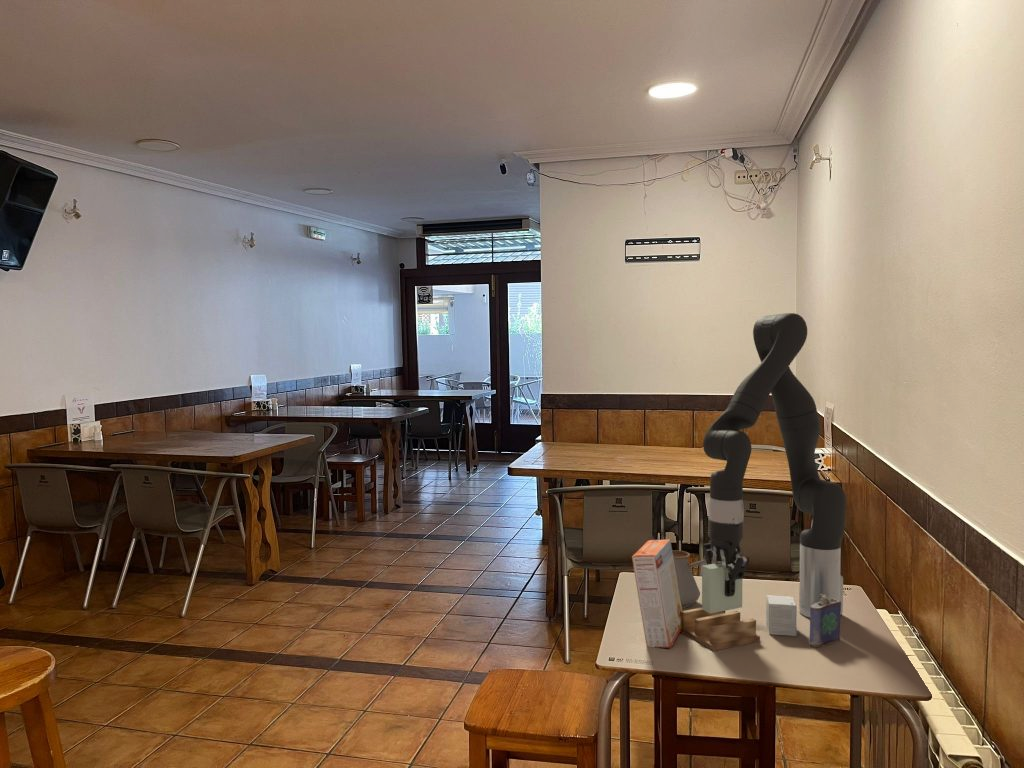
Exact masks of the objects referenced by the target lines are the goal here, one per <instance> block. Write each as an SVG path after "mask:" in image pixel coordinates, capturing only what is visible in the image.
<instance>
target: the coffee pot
mask: <svg viewBox="0 0 1024 768" xmlns="http://www.w3.org/2000/svg"><path fill="white" fill-rule="evenodd" d="M672 552H673V559H674V565H675V571H676V577H677V584H678V590H679V596H680V602H681V608H682V609H684V608H689V607H691V606H693V605H694V604H695V603H696V602H697V601H699V598H700V596H701V592H700V589H699V587H698V584H697V582H696V581H697V580H696V579H695V577H694V575H693V573H692V570H691V568H694V567H697V566H700V565H704V564H705V563H706V564H707V562H706V558H705V559H702V560H699V561H695V562H692V563H688V562H689V558H690V557H691V553H689V552H687V551H685V550H676V549H675V550H673V549H672ZM711 562H712V559H711Z"/></svg>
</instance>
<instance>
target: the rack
mask: <svg viewBox="0 0 1024 768" xmlns="http://www.w3.org/2000/svg"><path fill="white" fill-rule="evenodd" d="M681 620H682V628H681V629H682V630H681V631H680V633H682V632H683V633H682V634H684V635H686V636H687V637H689V638H691V639H692V638H693V640H695V641H696V642H697V641H698V642H697V643H699V644H701V645H703V646H704V647H706V648H707V649H709V650H710V651H718V650H723V649H728V648H732V647H733V648H734V647H737V646H741V645H747V644H750V643H755V642H760V641H761V636H760V635H758V634H757V620H756V619H755V618H748V619H743V620H741V612H740V611H739V610H734V611H730V612H729V611H728V612H726V610H725V611H720V612H715V613H708V612H706V611H704V610H702V606H701V607H697V608H691V609H687V610H682V611H681Z"/></svg>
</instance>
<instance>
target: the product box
mask: <svg viewBox="0 0 1024 768" xmlns="http://www.w3.org/2000/svg"><path fill="white" fill-rule="evenodd" d="M765 606H766V607H765V608H766V609H765V610H766V611H765V612H766V614H765V615H766V617H765V623H766V628H767V630H768V631H767V633H768V635H774V636H775V635H777V636H789V637H790V636H791V637H796V636H797V634H798V633H797V611H798V610H797V604H796V602H795V599H794V597H793V596H786V595H785V596H783V595H771V594H766V603H765Z"/></svg>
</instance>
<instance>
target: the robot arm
mask: <svg viewBox="0 0 1024 768" xmlns="http://www.w3.org/2000/svg"><path fill="white" fill-rule="evenodd" d="M752 336H753V341H754V342H753V343H754V345H755V346H754V347H755V349H756V353H757V354H758V358H759V360H760V364H759V365H758V366H756V367H755V368H754V369H753V370H752V371H750V373H749V374H748V375H747V376H746V377H745V378H743V380H742V381H741V382H740V383H739V385H738V386H737V388H736V389H735V392H734V393H733V395H732V397H731V399H730V401H729V403H728V406H726V407H727V408H726V409H725V410H724V411H723V413H721V414H720V415H719V416H718V418H717V419H716V420H715V421H714V422H713V423H712V424H711V425H710V426H709V428H708V430H707V431H706V432H705V435H704V437H703V439H702V440H703V442H702V449H703V452H704V453H705V455H706V456H707V457H708V458H710V459H713V460H720V461H726V464H725V467H724V469H722V470H716V471H713V472H711V475H710V480H709V501H708V503H709V504H708V516H707V517H708V527H707V528H708V529H707V532H708V534H707V536H708V538H709V539H710V542H709V543H703V544H702V550H703V553H704V557H705V559H706V565H709V564H718V563H722V567H723V569H724V570H725V579H726V580H725V596H727V597H730V596H733V595H734V594H735V580H736V579H742V580H743V578H744V576H745V573H746V570H747V568H748V566H749V563H750V557H749V556H744V554H743V553H742V550H741V546H740V544H741V542H742V540H744V539H743V538H744V502H743V501H744V500H743V493H744V491H743V490H744V488H743V487H744V486H743V485H744V484H743V482H744V478H745V474H746V471H747V468H748V464H749V461H750V458H751V454H752V442H751V439H750V437H749V435H748V434H747V433H746V432H744V431H742V430H745V429H749V428H752V427H754V426H755V424H756V423H757V420H758V419H759V416H760V415H761V413H762V411H763V409H764V406H765V404H766V402H767V401H768V398H769V397H770V395H771V398H772V402H773V405H774V410H775V416H776V419H777V423H778V427H779V431H780V435H781V438H782V441H783V446H784V450H785V454H786V455H785V456H786V460H787V464H788V468H789V475H790V476H789V477H790V485H791V491H792V497H793V501H794V503H795V506H796V507H797V509H798V510H799V511H801V512H802V513H804V514H806V515H809V516H812V525H811V527H810V528H808V529H807V528H806V529H804V530H802V531H801V532H800V534H799V593H798V595H799V596H798V597H799V599H798V601H799V603H798V604H799V605H798V611H799V613H800V614H801V615H802V616H805V617H806V618H809V619H810V606H811V605H813V604H815V603H818V602H820V601H821V598H822V596H823V595H822V596H821V595H820V594H824V595H826V596H827V597H828V598H827V599H830V598H833V599H837V600H840V601H841V613H840V616H842V615H843V614H844V611H843V610H844V609H843V608H844V577H843V576H842V575H841V554H842V553H841V548H842V547H841V546H842V544H841V543H842V539H843V537H844V535H845V529H846V517H847V516H846V514H847V497H846V496H847V495H846V493H845V490H844V489H843V486H841V485H839V483H835V482H833V481H828V480H825V479H821V477H820V475H819V474H820V473H819V472H818V469H817V464H816V460H815V459H816V458H815V457H816V456H815V453H816V450H817V449H816V447H817V444H818V441H819V439H820V435H821V423H820V422H821V421H820V418H819V414H818V409H817V405H816V402H815V400H814V397H813V396H812V394H811V393H810V392H809V390H807V388H806V387H805V386H804V385H803V384H802V382H801V381H800V380H799V379H798V377H797V376H795V374H794V372H793V371H792V369H791V368H790V365H791V364H792V362H793V361H794V359H796V357H797V356H798V354H799V353H800V351H801V350H802V349H803V346H804V345H805V343H806V341H807V337H808V325H807V322H806V321H805V319H804V318H803V316H801V315H800V314H799V313H794V312H788V313H787V312H785V313H779V314H778V313H777V314H770V315H769V314H768V315H764V316H761V317H759V318H757V319H756V321H755V323H754V325H753V331H752ZM711 559H712V561H711ZM728 564H732V565H728ZM731 569H732V573H731V574H730V570H731ZM819 595H820V596H819ZM841 614H842V615H841Z"/></svg>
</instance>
